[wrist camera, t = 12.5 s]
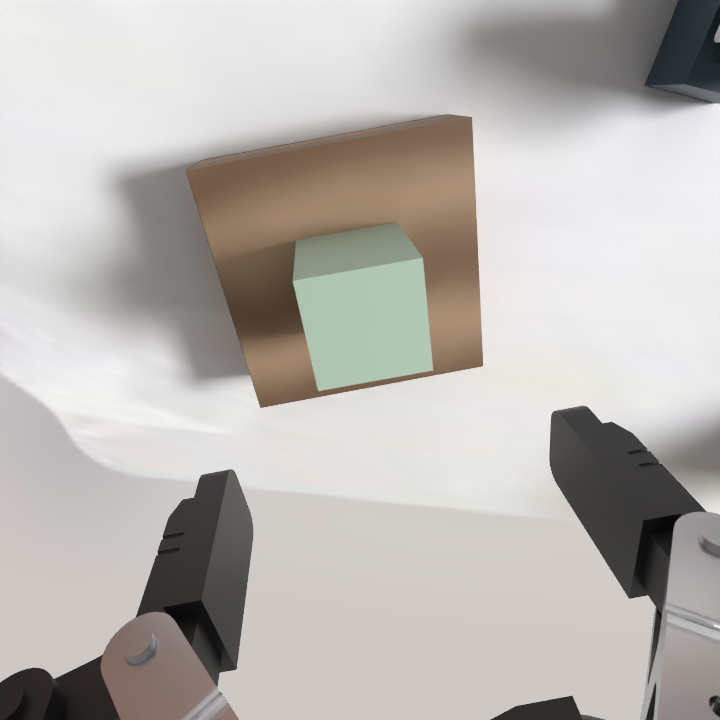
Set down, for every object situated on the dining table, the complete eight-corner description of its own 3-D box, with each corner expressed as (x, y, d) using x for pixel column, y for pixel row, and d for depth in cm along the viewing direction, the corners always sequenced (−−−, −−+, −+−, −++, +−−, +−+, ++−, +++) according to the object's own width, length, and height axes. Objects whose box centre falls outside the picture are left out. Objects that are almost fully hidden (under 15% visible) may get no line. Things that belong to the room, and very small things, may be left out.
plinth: (202, 160, 25) (185, 170, 22) (449, 114, 25) (471, 117, 22) (265, 373, 32) (260, 407, 28) (463, 336, 32) (482, 366, 28)
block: (296, 240, 24) (292, 280, 19) (397, 222, 24) (422, 257, 19) (316, 331, 26) (318, 391, 21) (408, 315, 26) (433, 370, 21)
